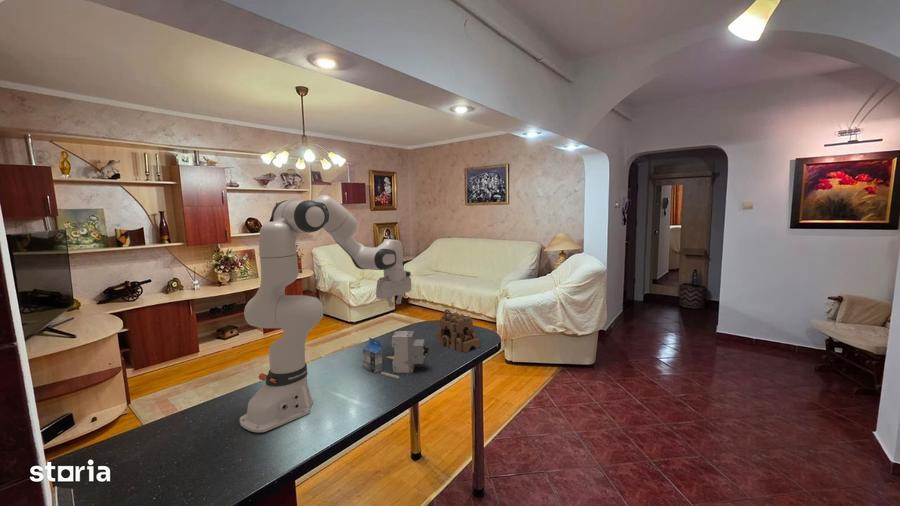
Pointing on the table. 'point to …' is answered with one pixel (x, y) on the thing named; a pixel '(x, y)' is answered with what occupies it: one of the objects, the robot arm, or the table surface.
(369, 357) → the label tape box
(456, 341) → the wooden puzzle
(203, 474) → the table surface
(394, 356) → the cork pad
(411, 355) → the circuit breaker
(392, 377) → the peg
